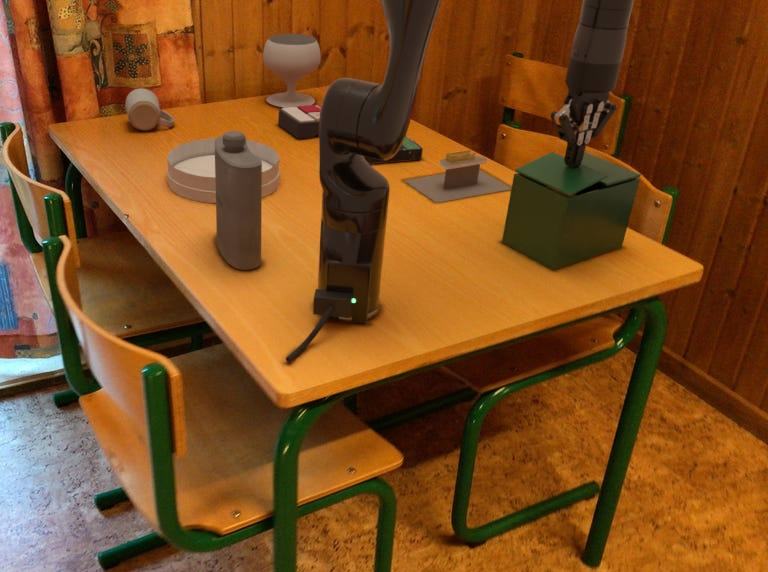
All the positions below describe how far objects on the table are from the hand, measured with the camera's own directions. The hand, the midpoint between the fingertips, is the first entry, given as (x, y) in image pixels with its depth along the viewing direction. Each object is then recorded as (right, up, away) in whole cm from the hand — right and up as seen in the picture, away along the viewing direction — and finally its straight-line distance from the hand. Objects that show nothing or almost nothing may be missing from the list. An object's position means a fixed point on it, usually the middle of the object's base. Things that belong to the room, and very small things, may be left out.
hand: (572, 165), depth 137 cm
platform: (-13, +3, +31) cm, 33 cm away
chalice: (-46, +32, +73) cm, 92 cm away
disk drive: (-26, +12, +44) cm, 52 cm away
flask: (-55, -14, +4) cm, 57 cm away
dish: (-59, +3, +29) cm, 66 cm away
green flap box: (+1, -12, +9) cm, 15 cm away
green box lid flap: (-2, -2, -1) cm, 3 cm away
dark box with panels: (-40, +21, +57) cm, 73 cm away
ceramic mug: (-78, +21, +56) cm, 98 cm away
